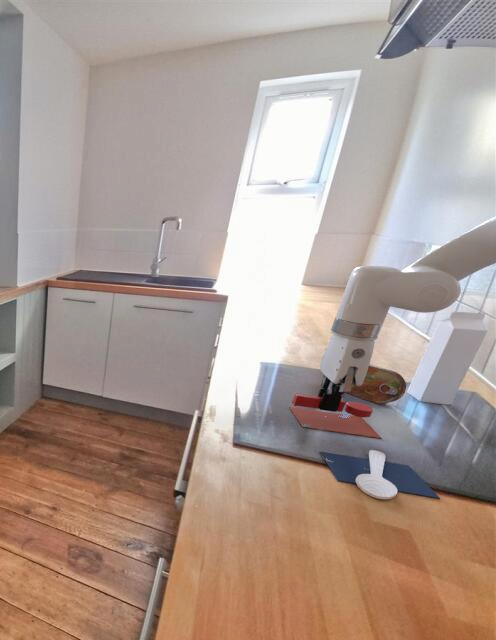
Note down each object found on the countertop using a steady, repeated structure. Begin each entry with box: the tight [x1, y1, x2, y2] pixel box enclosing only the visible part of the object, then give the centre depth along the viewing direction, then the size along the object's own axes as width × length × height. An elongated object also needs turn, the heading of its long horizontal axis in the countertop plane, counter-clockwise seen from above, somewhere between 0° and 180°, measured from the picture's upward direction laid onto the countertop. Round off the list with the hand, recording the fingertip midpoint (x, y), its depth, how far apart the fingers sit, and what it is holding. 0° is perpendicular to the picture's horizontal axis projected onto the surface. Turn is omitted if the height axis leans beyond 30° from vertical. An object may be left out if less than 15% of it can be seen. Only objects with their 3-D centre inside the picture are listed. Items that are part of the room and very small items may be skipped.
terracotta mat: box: [289, 406, 382, 440], centre depth 93 cm, size 14×10×1 cm
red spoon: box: [291, 392, 374, 418], centre depth 91 cm, size 14×4×2 cm, turn 69°
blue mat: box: [318, 450, 441, 500], centre depth 75 cm, size 14×10×1 cm
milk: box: [406, 311, 489, 406], centre depth 99 cm, size 6×6×22 cm
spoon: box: [355, 449, 398, 500], centre depth 74 cm, size 5×18×1 cm, turn 138°
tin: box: [339, 364, 407, 405], centre depth 103 cm, size 15×3×8 cm, turn 17°
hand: (325, 407), depth 92 cm, fingers closed on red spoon, 1 cm apart
